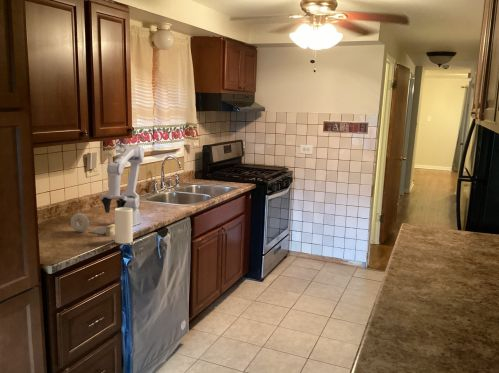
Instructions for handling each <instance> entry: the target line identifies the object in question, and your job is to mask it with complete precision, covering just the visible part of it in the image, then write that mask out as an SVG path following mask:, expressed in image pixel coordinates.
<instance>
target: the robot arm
mask: <svg viewBox="0 0 499 373" xmlns="http://www.w3.org/2000/svg"><path fill="white" fill-rule="evenodd" d="M144 157H145V150H144V148H143V146H135V145H134V146H132V145H126V146H124V148H123V154H122V155H119V156H117V158H116V159H115V160H114V161H113V162H110V163H108V164H107V168H106V171H107V178H108V190H107V191H108V193H107V194H106V193H105V194H104V193H102V194H101V195H100V196H101V203H102V204H103V207H104V211H105V213H106V214H108V213H110V210H111V209H110V208H111V203H112V200H115V201H116V206H117V207H116V208H122V207H127V208H132V209H133V227H134V226H136V225H137V226H138V225H140V224H142V222H141V220H140V219H141V218H140V217H141V213H140V209H139V207H140V195H139V194H138V193H137V192H136V190H137V186H138V185H137V183H138V178H139V171H140V166H141V164H142V163H143V162H144ZM128 163H129V164H130V166H129V173H128V180H127V185H126V190H125V191H124V192H122V193H121V179H122V178H121V177H122V176H121V175H122V174H123V173H124V169H125V167H126V166H127V165H128Z"/></svg>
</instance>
